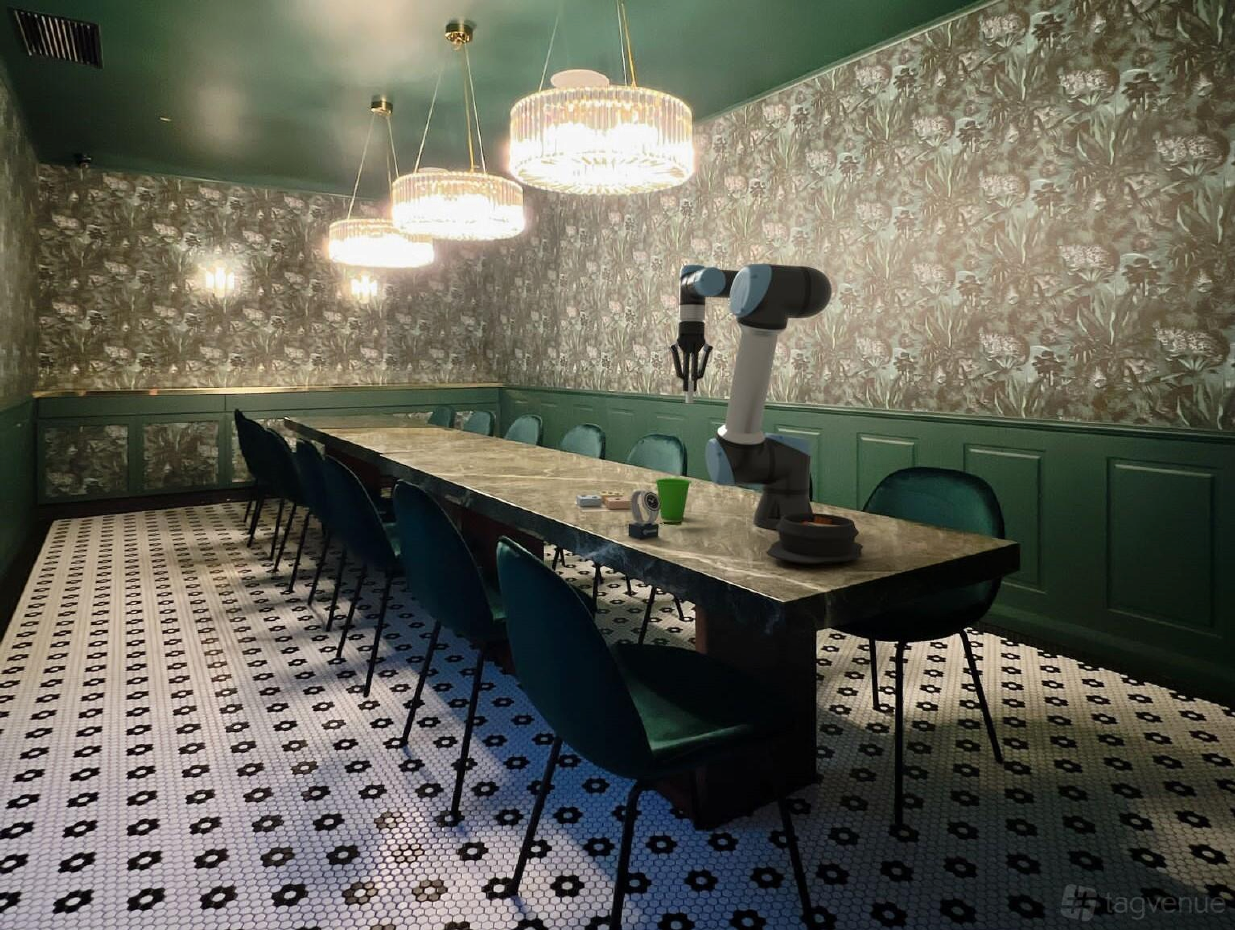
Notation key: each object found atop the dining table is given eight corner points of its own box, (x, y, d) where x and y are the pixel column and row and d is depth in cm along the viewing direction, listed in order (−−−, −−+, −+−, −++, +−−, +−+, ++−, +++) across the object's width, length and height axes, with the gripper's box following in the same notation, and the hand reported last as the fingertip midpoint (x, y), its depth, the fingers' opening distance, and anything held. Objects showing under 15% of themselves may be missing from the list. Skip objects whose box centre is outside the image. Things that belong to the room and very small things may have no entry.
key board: (637, 515, 201) (637, 510, 201) (582, 517, 198) (582, 511, 197) (622, 503, 219) (622, 498, 219) (571, 504, 216) (571, 499, 216)
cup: (687, 527, 187) (689, 484, 185) (651, 525, 189) (652, 482, 187) (691, 520, 196) (692, 479, 194) (657, 518, 197) (658, 477, 196)
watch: (646, 541, 171) (647, 493, 170) (623, 534, 178) (624, 489, 176) (664, 538, 175) (665, 491, 173) (641, 532, 181) (642, 487, 180)
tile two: (601, 505, 205) (601, 497, 205) (580, 506, 204) (580, 498, 204) (597, 501, 211) (597, 494, 211) (576, 502, 210) (576, 494, 209)
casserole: (806, 541, 174) (808, 506, 173) (883, 556, 161) (886, 518, 160) (744, 560, 156) (746, 520, 155) (826, 578, 143) (828, 535, 142)
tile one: (630, 508, 202) (631, 500, 202) (609, 508, 200) (609, 500, 200) (625, 504, 208) (626, 496, 207) (604, 504, 206) (604, 496, 206)
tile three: (622, 501, 211) (622, 494, 211) (601, 502, 210) (601, 494, 210) (618, 498, 217) (618, 490, 217) (597, 498, 216) (597, 491, 216)
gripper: (708, 322, 221) (706, 402, 224) (666, 321, 219) (664, 402, 221) (717, 320, 214) (714, 403, 217) (673, 319, 211) (671, 403, 214)
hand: (689, 403), depth 219 cm, fingers closed
